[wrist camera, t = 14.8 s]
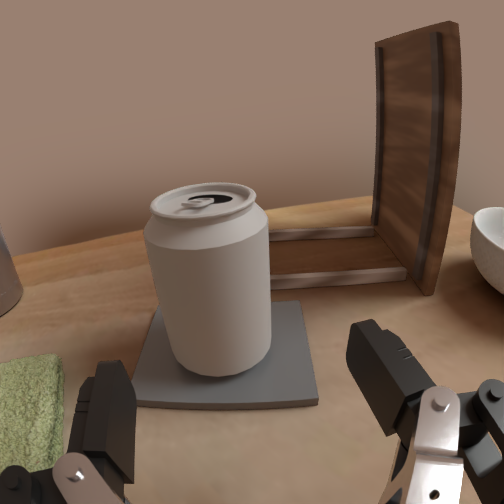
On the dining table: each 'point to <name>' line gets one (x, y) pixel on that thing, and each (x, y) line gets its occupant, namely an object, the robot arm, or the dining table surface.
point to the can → (212, 275)
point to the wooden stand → (405, 161)
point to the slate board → (231, 386)
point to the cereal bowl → (489, 245)
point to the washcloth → (31, 412)
